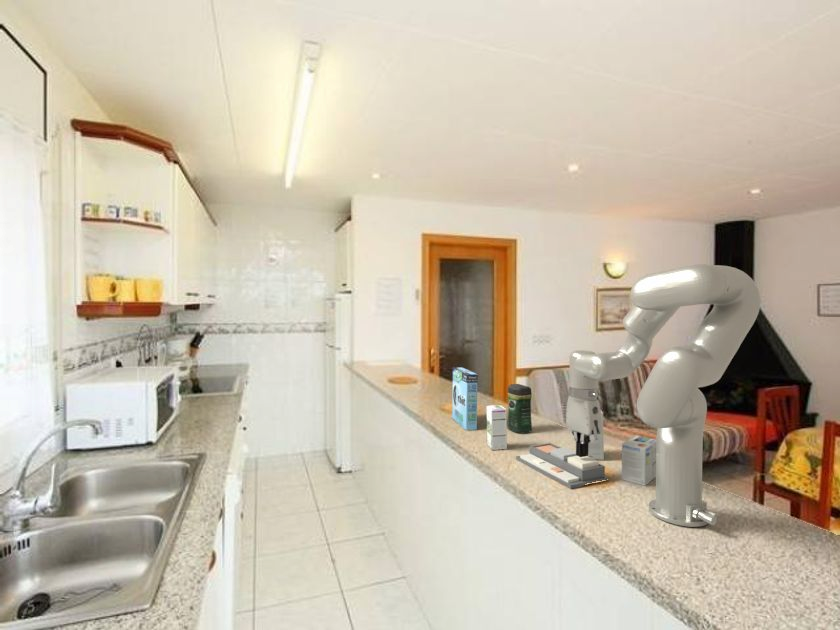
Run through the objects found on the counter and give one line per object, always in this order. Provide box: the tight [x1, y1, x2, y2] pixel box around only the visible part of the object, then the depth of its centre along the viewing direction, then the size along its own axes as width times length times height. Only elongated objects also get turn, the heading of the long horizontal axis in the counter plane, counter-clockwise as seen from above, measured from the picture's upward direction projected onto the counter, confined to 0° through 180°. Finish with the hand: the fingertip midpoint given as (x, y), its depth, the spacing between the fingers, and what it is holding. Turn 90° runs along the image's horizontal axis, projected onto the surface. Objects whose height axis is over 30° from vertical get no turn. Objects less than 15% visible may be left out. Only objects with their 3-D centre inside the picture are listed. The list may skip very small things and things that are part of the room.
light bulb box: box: [621, 435, 656, 486], centre depth 128 cm, size 11×7×11 cm, turn 135°
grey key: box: [550, 446, 577, 461], centre depth 135 cm, size 6×6×2 cm
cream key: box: [568, 456, 600, 469], centre depth 128 cm, size 6×6×2 cm
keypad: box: [515, 442, 610, 490], centre depth 135 cm, size 25×14×4 cm, turn 23°
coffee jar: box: [507, 383, 533, 434], centre depth 176 cm, size 10×8×19 cm
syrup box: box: [486, 404, 508, 451], centre depth 155 cm, size 6×6×14 cm
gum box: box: [451, 366, 479, 431], centre depth 186 cm, size 20×5×23 cm, turn 13°
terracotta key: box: [535, 445, 558, 453], centre depth 142 cm, size 6×6×2 cm
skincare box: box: [585, 410, 605, 461], centre depth 147 cm, size 8×7×16 cm
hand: (582, 455), depth 128 cm, fingers closed
